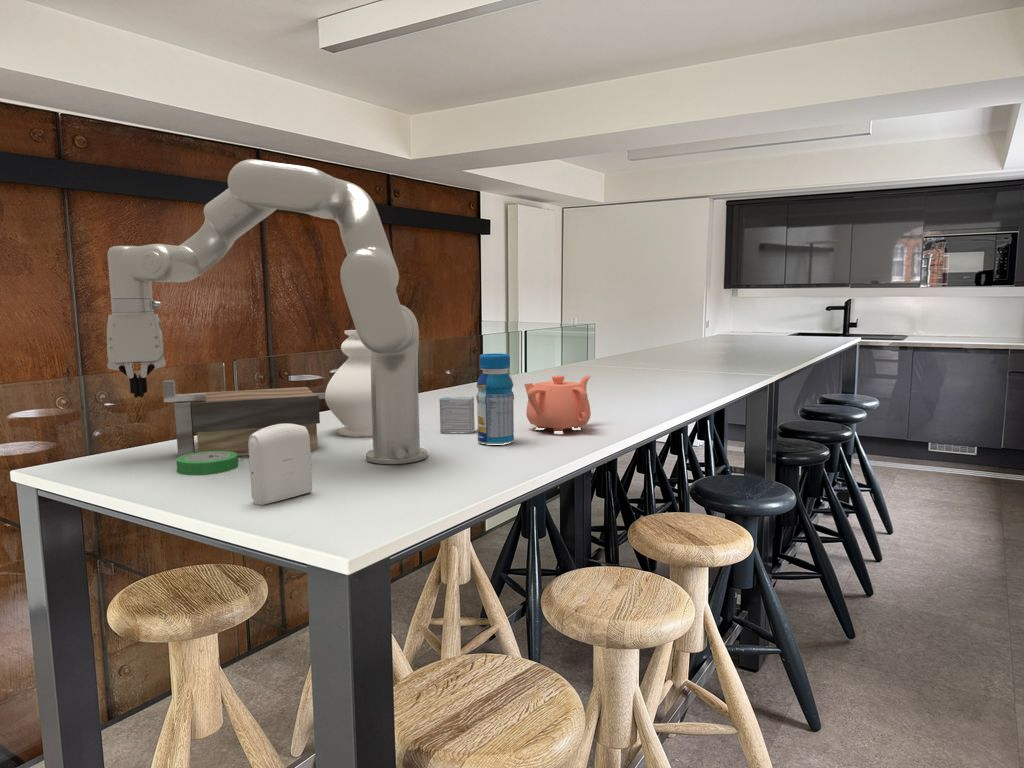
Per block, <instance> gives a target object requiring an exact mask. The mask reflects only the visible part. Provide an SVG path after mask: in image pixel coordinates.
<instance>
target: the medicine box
mask: <svg viewBox="0 0 1024 768" xmlns="http://www.w3.org/2000/svg"><path fill="white" fill-rule="evenodd" d="M439 425H440V426H439V427H440V429H439V431H440V432H472V431H473V430H474V429H475V428H476V426H475V425H476V424H475V397H474V396H473V395H445V396H440V398H439ZM474 431H475V430H474ZM474 431H473V432H474Z"/></svg>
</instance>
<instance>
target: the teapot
mask: <svg viewBox="0 0 1024 768" xmlns="http://www.w3.org/2000/svg"><path fill="white" fill-rule="evenodd" d="M590 378H591V375H586V376H583V377H582V378H581V380H580V381H579V382H574V381H564V380H565V376H564V375H552V376H551V379H552V380H551V381H550V380H549V381H542V382H540V381H539V382H535V383H533V382H530V383H524V387H525V391H526V394H527V399H528V400H527V405H526V411H525V413H526V418H527V421H528V422H529V424H531V425H533V426H535V428H536V427H538V428H545V427H546V428H549V429H550V428H551V429H553V431H563V430H564V431H565V429H571V428H572V427H574V428H578V427H581V426H586V425H587V424H588V422H589V420H590V419H591V406H590V401H589V399H588V398H589V397H588V393H587V383H588V382H589V379H590Z"/></svg>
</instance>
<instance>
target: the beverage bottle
mask: <svg viewBox="0 0 1024 768" xmlns="http://www.w3.org/2000/svg"><path fill="white" fill-rule="evenodd" d="M510 367H511V357H510V354H508V353H501V352H500V353H498V352H497V353H482V354H480V355H479V369H480V370H481V371H482V372H481V373H480V374H479V377H478V379H477V383H476V388H477V392H476V397H475V398H476V405H477V406H476V407H477V409H476V411H477V413H476V414H477V442H478V443H479V442H480V443H484V444H504V443H509V442H512V441H513V442H514V440H515V435H514V433H515V432H514V430H515V429H514V425H515V424H514V422H515V421H514V401H515V394H514V392H513V387H514V382H513V379H512V376H511V375H510V374H509V372H508V370H510ZM513 442H512V443H513ZM480 443H479V444H480Z"/></svg>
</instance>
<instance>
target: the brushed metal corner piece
mask: <svg viewBox="0 0 1024 768" xmlns="http://www.w3.org/2000/svg"><path fill="white" fill-rule="evenodd" d="M175 383H176V382H175V379H167V380H163V381H162V390H163V403H175V402H180V401H192V402H194V401H197V400H206V393H205V392H195V393H177V394H176V384H175Z"/></svg>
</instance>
